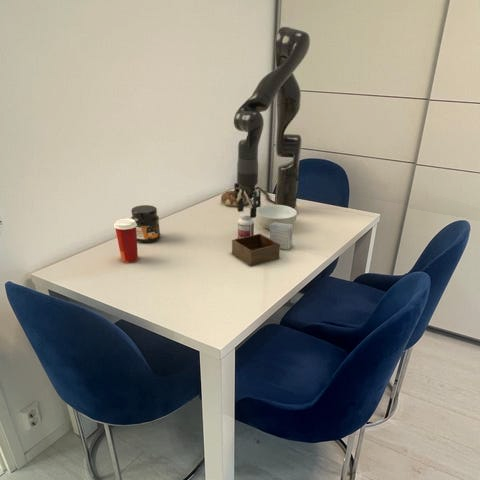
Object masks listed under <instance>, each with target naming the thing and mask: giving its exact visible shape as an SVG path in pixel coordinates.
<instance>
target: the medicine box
mask: <svg viewBox="0 0 480 480" xmlns="http://www.w3.org/2000/svg"><path fill="white" fill-rule="evenodd" d="M293 236H294V224H293V225H290V224H285V223H278V222H274V223H272V224H271V225H270V229H269V237H268V238H269V239H271V240H273V241H275V242H276V243H278V244H280V250H287V251H289V250H290V249H291V248H292V247H293Z"/></svg>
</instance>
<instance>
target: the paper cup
mask: <svg viewBox="0 0 480 480" xmlns="http://www.w3.org/2000/svg"><path fill="white" fill-rule="evenodd" d="M136 226H137V224H136V222H135V220H133V219H131V218H121V219H120V218H119V219H117V220H116V221H114V224H113V227H114V230H115V235H116V239H117V244H118V249H119V253H120V258H121V261H122V262H123V263H127V264H129V263H131V264H132V263H135V262H137V261H138V259H139V258H138V256H139V255H138V253H139V252H138V242H137V233H136Z"/></svg>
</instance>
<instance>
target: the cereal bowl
mask: <svg viewBox="0 0 480 480" xmlns="http://www.w3.org/2000/svg"><path fill="white" fill-rule="evenodd" d="M297 217H298V211H297V209H296V210H295V209H293V208H291V207H288V206H284V205H275V204H266V205H261V206H260V207H257V210H256V217H255V218H256V221H257V222H258V224H259V225H260V226H262V227H264V228H266V229H267V230H270V225H271V224H272V223H274V222H278V223H285V224H290V225H293V226H294V224H295V223H296V220H297Z"/></svg>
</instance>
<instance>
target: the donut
mask: <svg viewBox="0 0 480 480" xmlns="http://www.w3.org/2000/svg"><path fill="white" fill-rule="evenodd" d="M237 195H238V193H237ZM220 201H221V203H223V204H224V206H225V205H226V206H228V207H229V206H230V207H238V202H237V199H234V190H227V191H225V192H222V194H221V196H220ZM243 202H244V206H245V205H247V204H249V203H248V202H247V200H246V199H245V198H244V200H243Z"/></svg>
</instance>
